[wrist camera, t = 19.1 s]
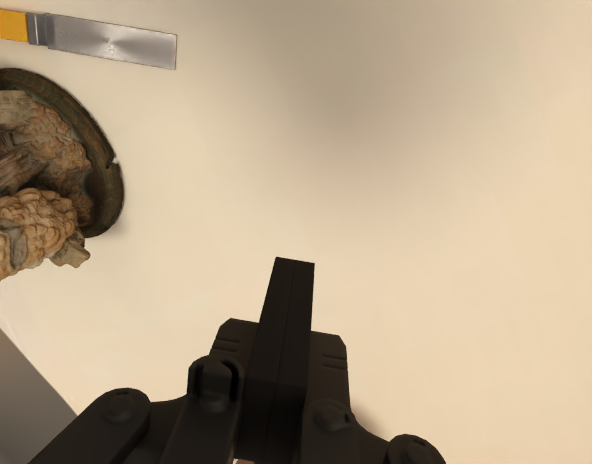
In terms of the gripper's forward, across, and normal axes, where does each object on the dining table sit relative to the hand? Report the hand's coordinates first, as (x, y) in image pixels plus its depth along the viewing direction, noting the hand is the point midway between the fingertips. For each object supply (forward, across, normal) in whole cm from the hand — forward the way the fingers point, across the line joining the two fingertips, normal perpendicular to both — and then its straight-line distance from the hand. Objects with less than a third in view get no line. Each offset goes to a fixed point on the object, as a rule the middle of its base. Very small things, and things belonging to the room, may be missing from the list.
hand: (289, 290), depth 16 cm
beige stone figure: (+25, -24, -4) cm, 35 cm away
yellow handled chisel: (+24, -23, +7) cm, 34 cm away
